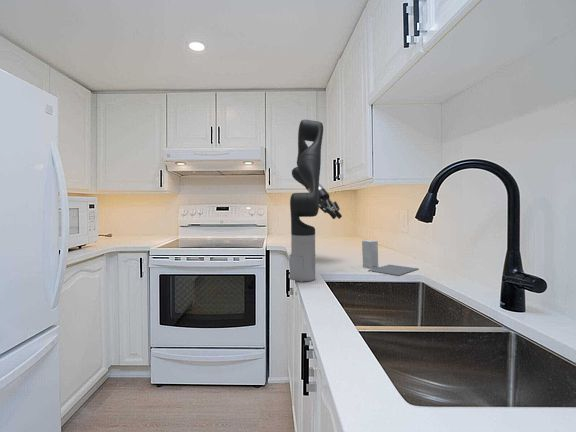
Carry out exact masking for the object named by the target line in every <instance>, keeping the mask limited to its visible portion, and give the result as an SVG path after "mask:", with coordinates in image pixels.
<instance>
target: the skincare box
mask: <svg viewBox="0 0 576 432" xmlns="http://www.w3.org/2000/svg"><path fill="white" fill-rule="evenodd" d="M378 243H379V241H377V240H369V239H366V240H365V239H364V240H362V241H361V248H362V253H361V254H362V267H363V268H368V269H375V268H378V267H379V248H378V247H379V246H378Z"/></svg>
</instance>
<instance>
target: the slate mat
mask: <svg viewBox="0 0 576 432" xmlns="http://www.w3.org/2000/svg"><path fill="white" fill-rule="evenodd" d="M418 270H419V267H410V266H403V265H397V264H396V265H395V264H386V265H382V266H378V268H374V269H372V268H370V269H368V270H367V271H368V272H370V271H372V273H377V272H378V273H379V274H383V275H384V274H385V275H390V276H397V277H400V276H404V275H406V274H408V273H412V272H415V271H418Z"/></svg>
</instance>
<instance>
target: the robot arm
mask: <svg viewBox="0 0 576 432" xmlns="http://www.w3.org/2000/svg"><path fill="white" fill-rule="evenodd" d="M298 125H299V126H298V133H297V147H298V148H297V149H298V150H297V151H298V152H297V158H296V166H295V167H294V168H293V169H291V176H292V178H293V179H294V180H295V181H296V182H297V183H299V184H301V185H302V186H303V187H305V189H306V190H307V192H294V193H292V194H291V195H290V198H289V206H290V209H289V210H290V233H291V234H290V235H291V236H290V237H291V238H290V239H291V241H290V246H291V247H290V248H291V249H290V250H291V253H290V255H289V280H290V281H295V282H300V283H303V282H311V281H315V280H316V229H315V227H314V226H312V225H309V224H307V223H305V222H303V221H302V220H301V219H300V218H302V217H303V218H312V217H316V216H317V215H318V213H319V210H321V211H322V212H323V213H324V214H327V215H329V216H330V217H331V219H333V220H335V219H336V218H337V219H341V218H342V217H343V215H342V213H340V207H339V204H338V202H337V201H334V202H333V201H332V200H331V199H330V194H329V193H328V191H327V190H326V189H325V187H324V186H323V185H322V184H321V183H320V175H321V174H320V173H321V163H322V162H321V161H322V160H321V157H322V156H321V155H322V143H323V135H324V124H323V122H322V121H319V120H311V119H301V120H300V122H299V124H298ZM307 142H312V143H311V144H310V145H309V146H308V144H307Z"/></svg>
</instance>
